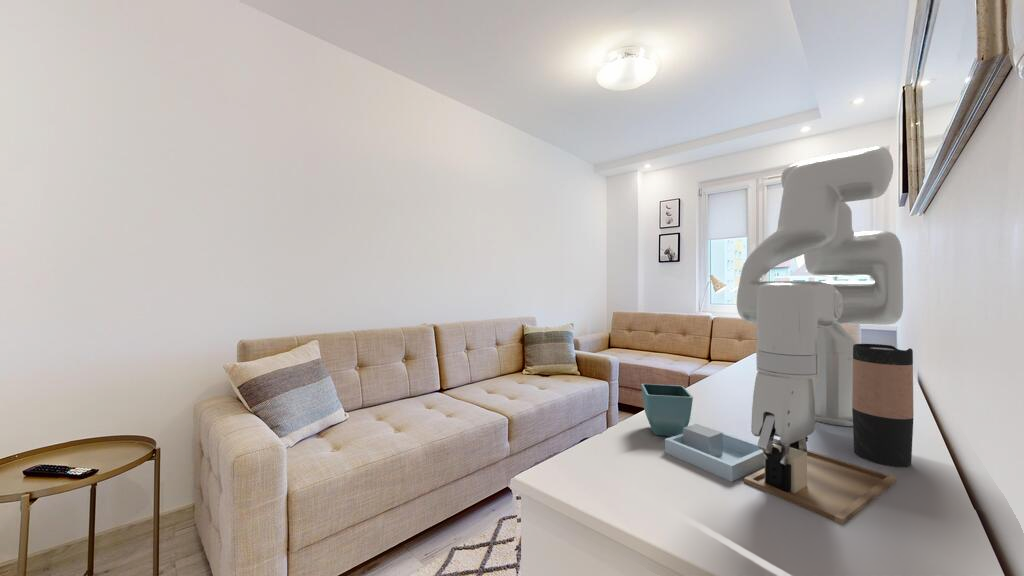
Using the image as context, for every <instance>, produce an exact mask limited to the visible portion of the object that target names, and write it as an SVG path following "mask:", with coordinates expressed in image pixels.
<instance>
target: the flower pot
mask: <svg viewBox="0 0 1024 576" xmlns="http://www.w3.org/2000/svg"><path fill="white" fill-rule="evenodd" d="M640 385H641V386H640V387H641V393H642V394H641V395H642V403H643V404H642V405H643V409H644V412H645V416H646V418H647V421H648V423H649V426H650V428H651V430H652V431H651V432H653V435H656V436H664V437H673V436H676V435H679V434H682V433H683V428H685V427H688V426H689V424H690V420H691V416H692V415H691V414H692V409H693V407H692V406H693V399H694V396H693V395H692V394H691V393H690V392H689V391H688V390H687V388H685V386H683V385H677V384H675V385H674V384H656V383H655V384H653V383H641V384H640Z"/></svg>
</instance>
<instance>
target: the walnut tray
mask: <svg viewBox="0 0 1024 576" xmlns="http://www.w3.org/2000/svg"><path fill="white" fill-rule="evenodd" d="M896 482H897V477H896V476H892V475H889V474H885V473H883V472H880V471H875V470H873V469H870V468H867V467H864V466H860V465H857V464H853V463H850V462H847V461H844V460H841V459H837V458H835V457H832V456H828V455H826V454H823V453H819V452H817V451H816V452H815V451H812V450H810V449H807V486H806V487H804V488H802V489H801V490H799V491H797V492H796V493H793V492H791V491H789V492H785V491H783V490H781V489H778V488H776V487H773V486H771V485H768V484H767V483H766V481H765V467H762V468H760V469H758V470H756V472H755V471H754V472H752V474H751V473H750V474H748V475H746V476H744V478H743V483H746V484H747V485H750V486H752V487H753V488H757V489H759V490H761V491H764V492H766V493H768V494H771V495H773V496H775V497H778V498H780V499H782V500H785V501H786V502H790V503H791V504H794V505H796V506H799V507H801V508H803V509H805V510H808V511H810V512H812V513H814V514H817V515H820V516H822V517H824V518H826V519H829V520H832V521H833V522H836V523H839V524H841V525H844V524H845V523H846V522H848V521H849V520H850V519H851V518H853V517H854V516H855V515H857V514H858V512H860V511H861V510H862V509H864V508H865V507H866V506H868V505H869V504H870V503H871V502H873V501H874V500H875V499H876V498H878V497H879V496H881V494H882V493H884V492H885V491H886V490H888V489H889V488H890V487H891V486H893V485H894V484H895V483H896Z"/></svg>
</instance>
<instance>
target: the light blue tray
mask: <svg viewBox="0 0 1024 576" xmlns="http://www.w3.org/2000/svg"><path fill="white" fill-rule="evenodd" d="M715 430H716V431H719V432H722V433H723V455H721V456H719V457H714V456H711V455H709V454H706V453H704V452H701V451H699V450H696V449H694V448H691V447H689V446H686V445H684V444H683V433H682V434H679V435H676V436H669V437H667V438H664V453H665V454H668V455H670V456H672V457H674V458H676V459H679V460H681V461H683V462H686V463H688V464H691V465H692V466H695V467H697V468H700V469H701V470H703V471H706V472H708V473H711V474H713V475H716V476H717V477H720V478H722V479H723V480H726V481H729V482H731V483H733V482H735V481H737V480H739V479H741V478H743V477H746V476H748V475H750V474H751V473H752V474H753V473H755V471H756V472H757V471H759V470H761V469H763V468H765V458H764V452H763V450H761V449H760V448H759V447H758V443H757V442H753V441H749V440H747V439H744V438H742V437H738V436H735V435H733V434H729V433H726V432H723V431H721V430H718V429H715Z"/></svg>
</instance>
